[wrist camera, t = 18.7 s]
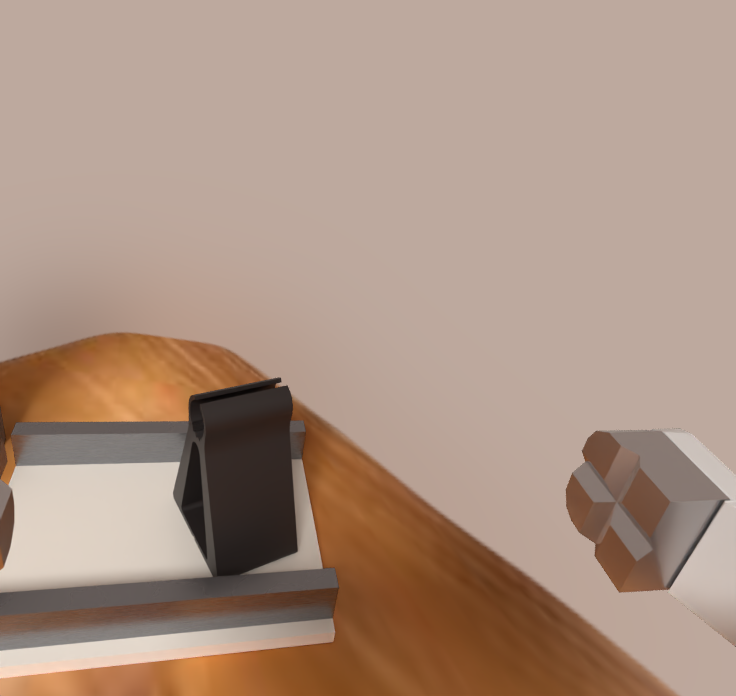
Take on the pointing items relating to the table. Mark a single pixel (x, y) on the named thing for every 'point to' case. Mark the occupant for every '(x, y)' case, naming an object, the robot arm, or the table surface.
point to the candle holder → (2, 428)
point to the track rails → (156, 598)
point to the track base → (130, 559)
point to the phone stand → (239, 477)
